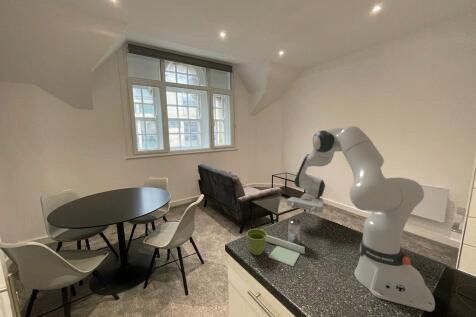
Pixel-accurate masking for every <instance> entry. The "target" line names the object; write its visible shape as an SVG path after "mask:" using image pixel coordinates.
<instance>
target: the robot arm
mask: <svg viewBox="0 0 476 317" xmlns="http://www.w3.org/2000/svg"><path fill="white" fill-rule="evenodd" d="M312 145H313V147H312V151H311V152H310V153H307V154H306V155H305V157H304V158H303V160H302V163H301V164H300V167H299V168H298V170H297V171H298V172H297V174H296V175H295V177H294V180H293V183H294V185H295V187H297V188H298V189H299V188H300V189H303V190H305V191H306V192H304V193H303V194H302V195H301V196H300V198H299V197H295V196H291V197H289V198H287V199H286V205H287V206H289V207H290V208H291V209H292V210H294V209H296V208H297V209H301V210H306V211H308V213H311V214H312V213H319V214H322V213H324V199H323V198H320V197H322V195H323V193H325V192H324V191H325V188H326V184H325V181H324V179H321V178H319V177H315V176H312V175H310V174H308V173H306V172H307V170H308V168H309V167H324V166H328V165H329V164H331V162H332V160H333V158H334V156H335V152H342V153H343V156H344V157H345V159H346V161H347V163H348V165H349V167H350V168H351V171H352V174H353V175H352V176H353V184H352V185H351V187H350V188H349V200H350V201H351V203H352V205H353V206H355V208H356V209H358V210H360V211H366V212H371V214H369V216H367V217H366V218H365V220H364V222H363V232H362V233H363V234H362V239H361V240H360V246H359V255H360V256H359V260H358V262H357V266H356V268H355V270H354V277H355V278H356V280H358V282H359V283H360V284H361V285H362V286H364V287H365V288H366V289H367V290H369V292H370V293H371V294H372V295H373V296H374V297H376V298H378V299H382V300H385V301H387V302H393V303H396V304H400V305H404V306H407V307H410V308H415V309H417V310H418V309H419V310H422V311H426V312H430V313H431V312H433V311H434V310H435V307H436V302H435V297H434V295H433V294H432V291H431V290H430V288H429V287H427V285H426V283H425V280H424V278H423V276H422V274H421V272H420V271H418V270H417V269H416V268H415V267H414V266H413V265H411V259H410V258H409V257H408V255H407V254H408V253H406V251H405V250H404V248H401V244H402V238H403V232H404V229H405V226H406V224H407V222H408V220H409V219H410V216H411V215H412V212H413V211H414V209H415V208H416V207H417V206H418V205H419V204H421V202H423V200H424V198H425V191H424V189H423V186H422V185H421V184H420V183H419V182H417V181H415V180H414V179H410V178H406V177H405V178H403V177H385V176H384V175H383V172H382V166H383V165H384V162H385V159H384V157H383V155H382V154H381V152H380V151H379V150H378V148H377V147H376V145H375V144H374V142H373V141H372V140H371V138H370V137H369V136H368V135H367V134H366V133H365V132H364V131H363V130H362V129H361V128H360V127H358V126H354V125H353V126H346V127H335V128H329V129H325V130H324V129H323V130H320V131H318V132H316V133H314V135H313V137H312Z"/></svg>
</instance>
